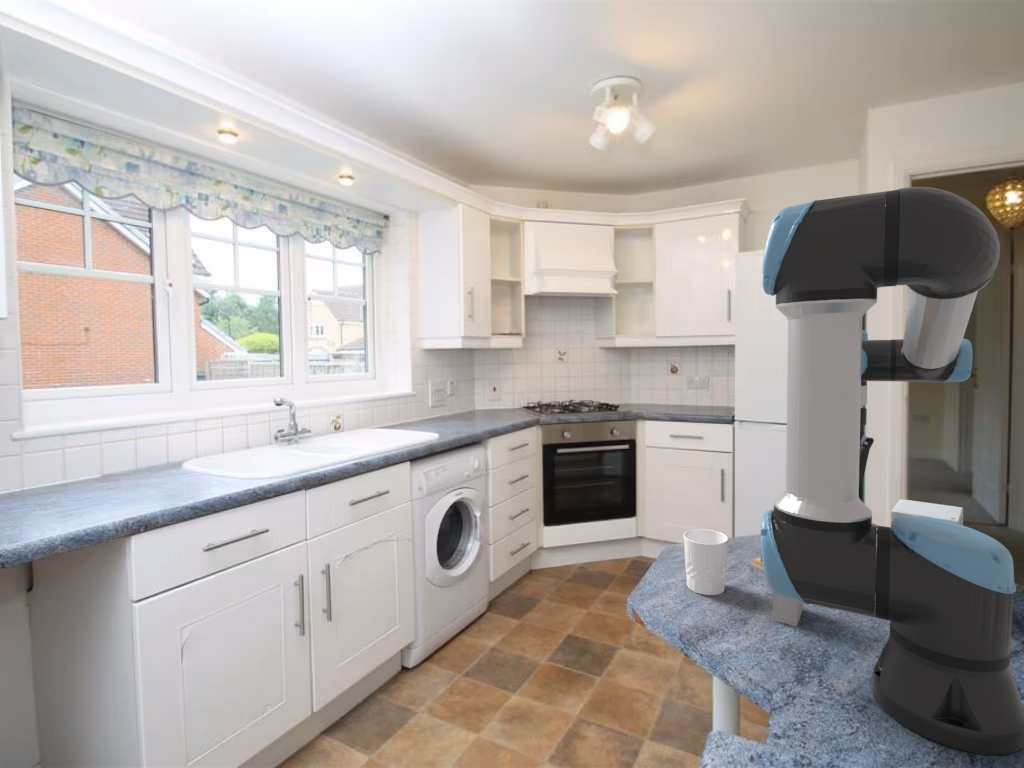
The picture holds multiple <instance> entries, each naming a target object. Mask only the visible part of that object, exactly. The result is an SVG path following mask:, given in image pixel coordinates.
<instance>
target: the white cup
mask: <svg viewBox="0 0 1024 768" xmlns="http://www.w3.org/2000/svg"><path fill="white" fill-rule="evenodd" d="M728 542H729V538H728V536H727V535H726V534H724V533H723V532H720V531H717V530H712V529H705V528H695V529H690V530H687V531H685V532H684V533H683V550H684V551H683V552H684V553H683V555H684V563H685V564H684V567H685V573H686V574H685V575H686V576H685V577H686V586H687V587H688V589H689V590H690V591H692V592H693V593H695V594H699V595H702V594H703V595H702V596H718V595H721V594H722V593H724V592H725V590H726V589H725V588H726V577H727V568H728V547H729V543H728Z"/></svg>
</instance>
